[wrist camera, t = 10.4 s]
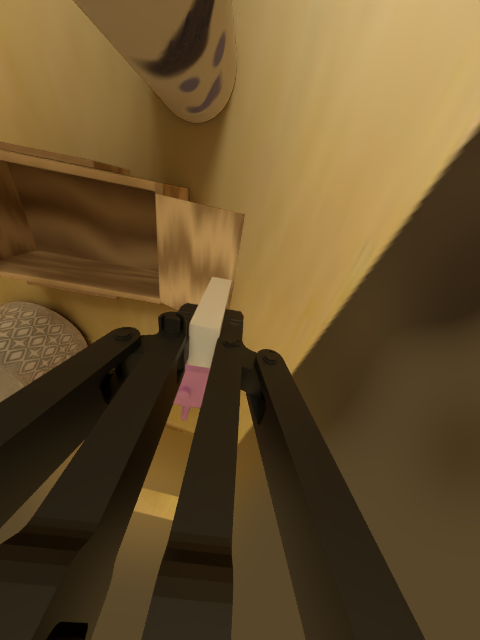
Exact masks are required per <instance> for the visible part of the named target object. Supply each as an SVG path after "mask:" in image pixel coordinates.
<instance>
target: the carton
mask: <svg viewBox="0 0 480 640" xmlns="http://www.w3.org/2000/svg"><path fill="white" fill-rule="evenodd" d="M0 149H1V150H6V151H11V152H16V153H21V154H25V155H21V154H16V153H11V152H6V151H1V150H0V276H1V277H7V278H13V279H19V280H24V281H27V283H28V284H30V285H36V286H42V287H48V288H54V289H59V290H65V291H71V292H77V293H83V294H88V295H94V296H100V297H106V298H112V299H118V298H120V297H123V298H128V299H134V300H140V301H146V302H152V303H157V304H163V305H166V304H164V303H162V302H160V285H159V263H158V241H157V219H156V196H155V194H159V195H164V196H168V197H172V198H176V199H181V200H185V201H189V189H188V188H183V187H179V186H174V185H169V184H164V183H159V182H154V181H149V180H144V179H139V178H134V177H129V176H130V173H129V170H127V169H123V168H119V167H115V166H111V165H108V164H104V163H100V162H96V161H92V160H87V159H82V158H77V157H72V156H67V155H62V154H57V153H52V152H48V151H43V150H38V149H33V148H28V147H23V146H18V145H13V144H9V143H4V142H0ZM26 155H30V156H26ZM31 156H35V157H31ZM36 157H40V158H45V159H50V160H55V161H60V162H65V163H70V164H75V165H79V166H75V165H70V164H65V163H60V162H55V161H50V160H45V159H40V158H36ZM80 166H84V167H80ZM85 167H89V168H85ZM90 168H94V169H90ZM95 169H99V170H95ZM100 170H104V171H100ZM105 171H109V172H114V173H119V174H124V175H129V176H124V175H119V174H114V173H109V172H105Z"/></svg>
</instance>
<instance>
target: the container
mask: <svg viewBox="0 0 480 640" xmlns="http://www.w3.org/2000/svg"><path fill="white" fill-rule="evenodd" d="M73 1H74V2H75V3H76V4H77V5H78V7H79V8H80V9H81V10H82V11H83V12H84V13H85V14H86V16H87V17H88V18H89V19H90V20H91V21H92V22H93V23H94V25H95V26H96V27H97V28H98V29H99V30H100V31H101V33H102V34H103V35H104V36H105V37H106V38H107V39H108V40H109V42H110V43H111V44H112V45H113V46H114V47H115V48H116V49H117V51H118V52H119V53H120V54H121V55H122V56H123V57H124V58H125V60H126V61H127V62H128V63H129V64H130V65H131V66H132V68H133V69H134V70H135V71H136V72H137V73H138V74H139V75H140V77H141V78H142V79H143V80H144V81H145V82H146V83H147V84H148V86H149V87H150V88H151V89H152V90H153V91H154V92H155V93H156V95H157V96H158V97H159V98H160V99H161V100H162V101H163V102H164V104H165V105H166V106H167V107H168V108H169V109H170V110H171V111H172V112H173V113H174V114H175V115H176V116H178V117H179V118H181V119H183V120H185V121H188V122H192V123H202V122H206V121H208V120H210V119H212V118H214V117H215V116H216V115H218V114H219V113H220V112H221V110H222V109H223V108H224V107H225V105H226V103H227V102H228V100H229V98H230V95H231V93H232V90H233V87H234V83H235V78H236V70H237V51H236V41H235V30H234V20H233V10H232V0H73Z"/></svg>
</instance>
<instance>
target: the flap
mask: <svg viewBox="0 0 480 640" xmlns="http://www.w3.org/2000/svg"><path fill="white" fill-rule="evenodd" d="M155 196H156V219H157V241H158V263H159V285H160V302H162V303H164V304H166V305H168V306H169V307H171V308H173V309H175V310H177V311H179V309H180V307H181V306H182V305H184V304H186V303H191V304H197V305H199V303H200V301H201V299H202V297H203V295H204V293H205V291H206V289H207V286H208V284H209V282H210V280H211V278H212V277H217V278H222V279H228V280H232V281H231V288H230V294H229V300H228V307H227V309H229V308H230V302H231V296H232V290H233V283H234V277H235V271H236V265H237V259H238V253H239V247H240V241H241V235H242V228H243V222H244V216H245V214H241V213H236V212H232V211H228V210H223V209H219V208H215V207H211V206H206V205H202V204H198V203H194V202H189V201H185V200H181V199H176V198H172V197H168V196H164V195H159V194H155Z"/></svg>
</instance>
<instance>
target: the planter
mask: <svg viewBox="0 0 480 640" xmlns="http://www.w3.org/2000/svg"><path fill="white" fill-rule="evenodd" d="M86 347H88V345H87V343H86V341H85V339H84V337H83V336H82V334H81V333H80V332H79V331H78V329H77V328H76V327H75V326H74V325H73V324H72V323H70V322H69V321H68V320H67V319H65V318H64V317H63V316H61V315H59V314H58V313H56V312H54V311H52V310H50V309H48V308H46V307H43V306H41V305H38V304H34V303H30V302H23V301H15V302H9V303H6V304H4V305H1V306H0V402H1V401H3V400H4V399H6V398H8V397H9V396H11V395H12V394H14V393H15V392H17V391H19V390H20V389H22V388H23V387H25V386H26V385H28V384H30V383H31V382H33V381H34V380H36V379H37V378H39V377H41V376H42V375H44V374H45V373H47V372H48V371H50V370H52V369H53V368H55V367H56V366H58V365H59V364H61V363H63V362H64V361H66V360H67V359H69V358H70V357H72V356H74V355H75V354H77V353H78V352H80V351H81V350H83V349H85V348H86Z"/></svg>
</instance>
